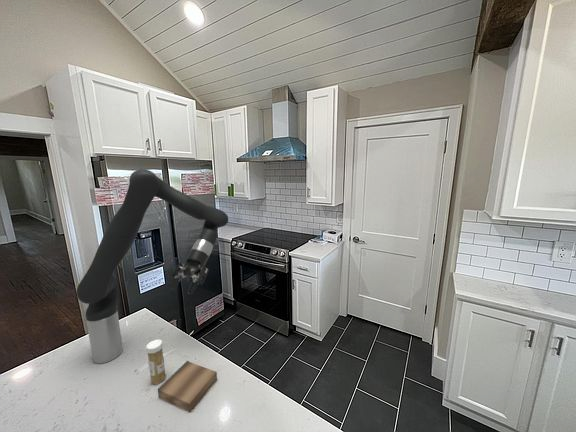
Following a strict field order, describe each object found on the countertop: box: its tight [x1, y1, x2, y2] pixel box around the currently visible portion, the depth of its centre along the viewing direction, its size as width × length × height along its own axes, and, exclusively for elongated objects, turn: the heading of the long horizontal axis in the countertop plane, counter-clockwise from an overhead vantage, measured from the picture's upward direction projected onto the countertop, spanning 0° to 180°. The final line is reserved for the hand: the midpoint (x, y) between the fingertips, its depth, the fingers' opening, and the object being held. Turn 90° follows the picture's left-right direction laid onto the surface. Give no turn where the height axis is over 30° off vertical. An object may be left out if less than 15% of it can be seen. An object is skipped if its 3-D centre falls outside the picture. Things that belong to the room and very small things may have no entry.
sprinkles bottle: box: [146, 339, 167, 385], centre depth 78 cm, size 5×5×13 cm
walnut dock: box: [157, 360, 218, 413], centre depth 75 cm, size 13×12×3 cm
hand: (180, 291), depth 86 cm, fingers open, 8 cm apart
